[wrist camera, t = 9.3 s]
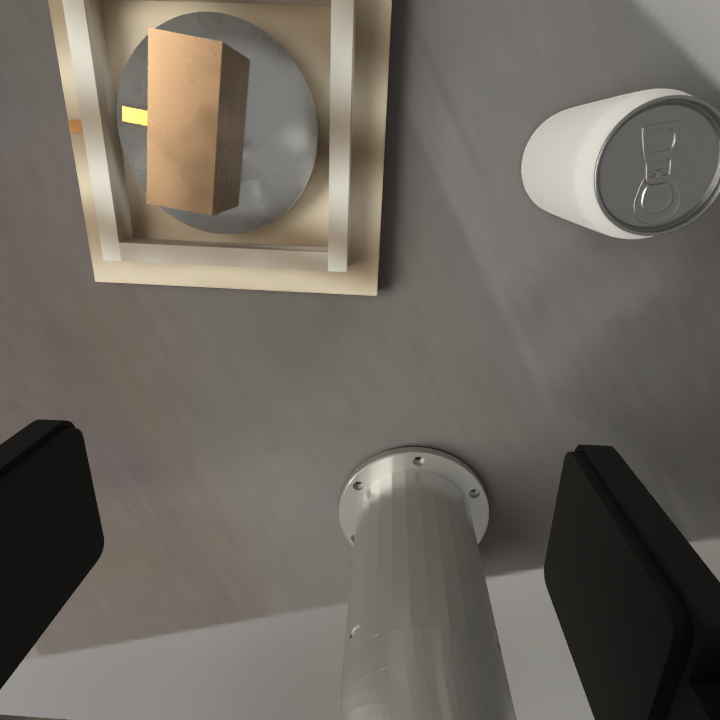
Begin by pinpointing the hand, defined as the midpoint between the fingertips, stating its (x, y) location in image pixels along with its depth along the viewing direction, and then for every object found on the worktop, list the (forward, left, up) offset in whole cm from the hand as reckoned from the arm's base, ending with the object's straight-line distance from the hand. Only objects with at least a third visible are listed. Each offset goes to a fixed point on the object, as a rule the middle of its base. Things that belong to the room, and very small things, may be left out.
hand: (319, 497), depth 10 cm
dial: (+7, +9, -26) cm, 28 cm away
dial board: (+7, +9, -28) cm, 30 cm away
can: (+6, -13, -28) cm, 31 cm away
